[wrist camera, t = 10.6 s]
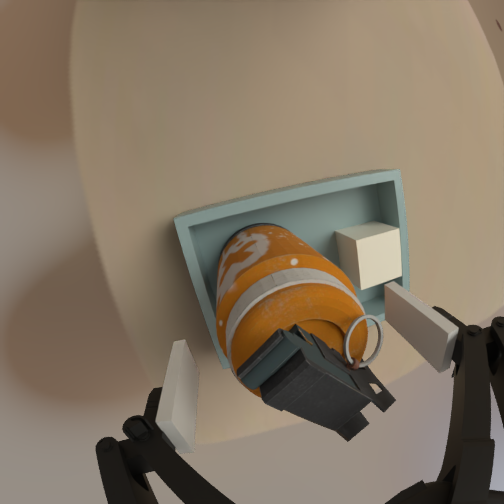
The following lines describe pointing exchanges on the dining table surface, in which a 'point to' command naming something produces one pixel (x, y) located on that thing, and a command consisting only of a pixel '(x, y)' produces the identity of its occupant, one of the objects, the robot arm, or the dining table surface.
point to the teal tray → (296, 229)
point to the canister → (295, 329)
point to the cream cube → (369, 253)
